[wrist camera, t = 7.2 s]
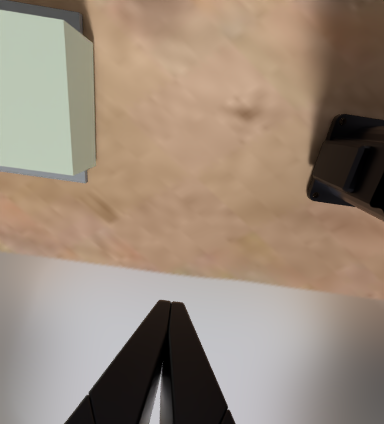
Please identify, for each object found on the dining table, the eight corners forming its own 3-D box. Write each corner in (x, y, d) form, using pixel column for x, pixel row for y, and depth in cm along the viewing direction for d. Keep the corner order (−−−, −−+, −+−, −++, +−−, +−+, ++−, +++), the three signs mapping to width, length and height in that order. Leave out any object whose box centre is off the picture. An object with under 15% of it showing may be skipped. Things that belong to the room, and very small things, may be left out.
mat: (82, 15, 14) (79, 12, 14) (87, 182, 18) (85, 183, 18) (-81, -13, 14) (-88, -16, 14) (-39, 164, 18) (-44, 165, 18)
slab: (63, 19, 11) (-103, -7, 11) (73, 175, 14) (-58, 158, 14) (93, 43, 14) (-34, 23, 14) (95, 165, 17) (-10, 151, 17)
